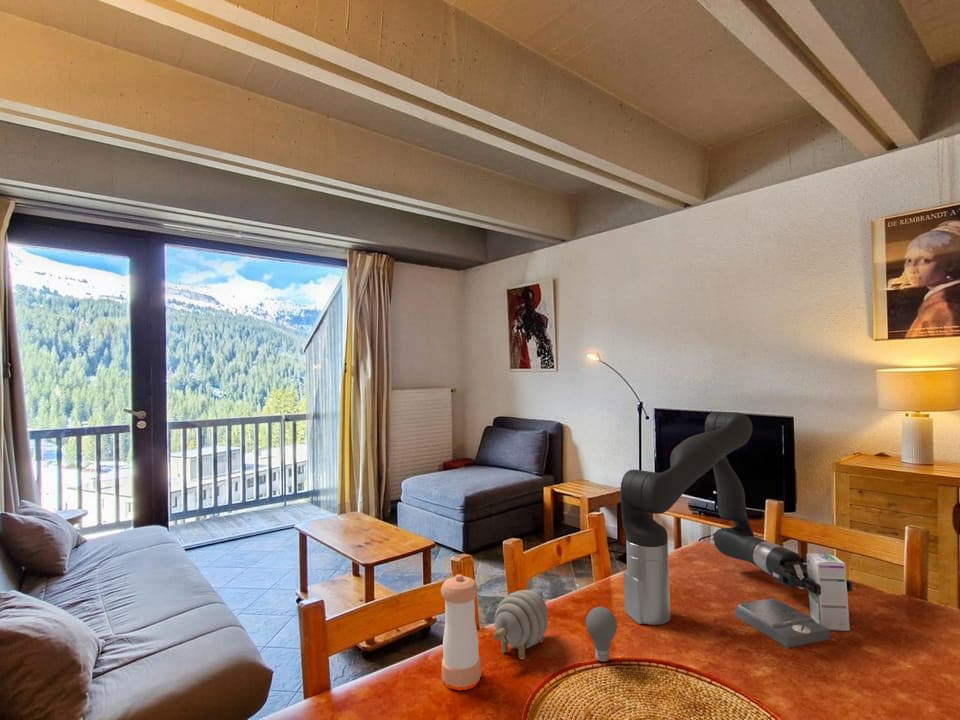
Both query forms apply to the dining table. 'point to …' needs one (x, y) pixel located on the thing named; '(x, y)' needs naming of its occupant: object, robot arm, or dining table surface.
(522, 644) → the toy sheep
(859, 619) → the dining table surface
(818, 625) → the scale base
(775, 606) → the scale pan
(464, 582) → the salt shaker
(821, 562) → the syrup box
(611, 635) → the light bulb
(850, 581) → the robot arm
